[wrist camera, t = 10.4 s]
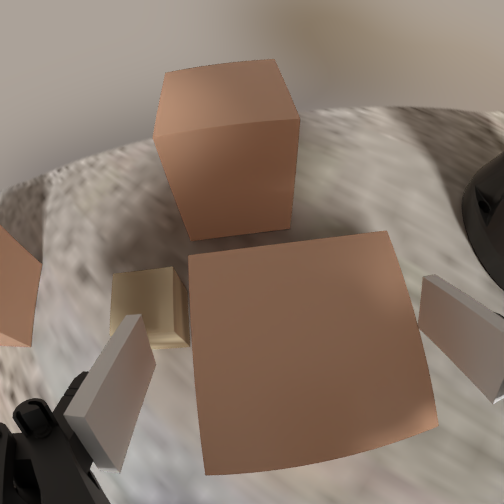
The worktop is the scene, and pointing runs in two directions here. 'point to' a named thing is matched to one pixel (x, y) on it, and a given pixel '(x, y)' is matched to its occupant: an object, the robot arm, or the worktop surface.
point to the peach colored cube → (229, 147)
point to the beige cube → (153, 305)
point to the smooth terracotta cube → (305, 353)
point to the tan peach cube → (17, 291)
